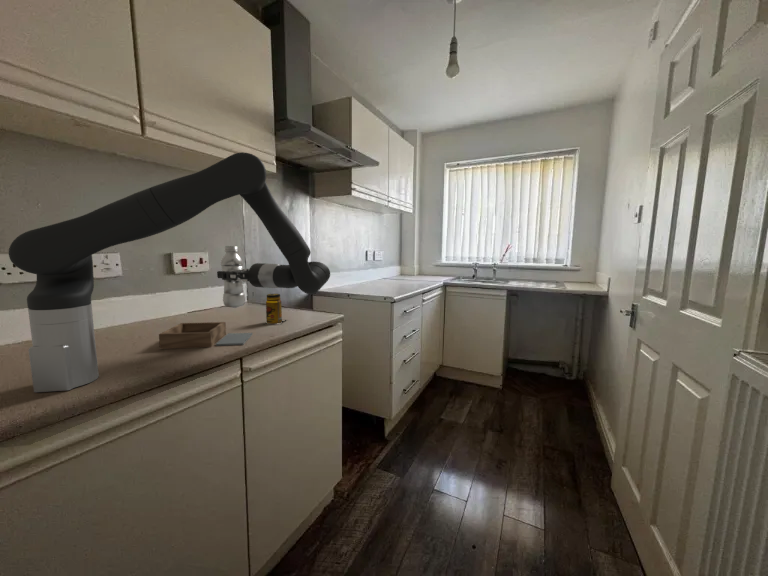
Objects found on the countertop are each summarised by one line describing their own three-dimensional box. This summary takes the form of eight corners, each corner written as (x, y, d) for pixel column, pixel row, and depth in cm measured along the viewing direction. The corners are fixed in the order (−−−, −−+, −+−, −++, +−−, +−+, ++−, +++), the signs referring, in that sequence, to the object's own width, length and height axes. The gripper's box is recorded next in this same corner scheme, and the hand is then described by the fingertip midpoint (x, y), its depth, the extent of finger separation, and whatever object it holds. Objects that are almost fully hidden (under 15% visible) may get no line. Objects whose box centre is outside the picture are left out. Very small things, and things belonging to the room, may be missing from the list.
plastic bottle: (250, 306, 99) (247, 246, 97) (231, 309, 93) (228, 245, 91) (237, 305, 102) (234, 246, 100) (218, 308, 96) (215, 246, 94)
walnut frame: (211, 346, 91) (210, 332, 90) (159, 348, 88) (158, 334, 88) (226, 334, 104) (225, 322, 104) (182, 335, 102) (181, 323, 101)
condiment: (262, 324, 120) (261, 295, 118) (271, 319, 128) (270, 292, 127) (280, 325, 119) (279, 295, 118) (287, 320, 128) (287, 292, 126)
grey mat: (243, 344, 94) (243, 342, 94) (215, 345, 92) (215, 343, 92) (252, 334, 105) (252, 332, 105) (228, 335, 104) (228, 333, 104)
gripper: (283, 262, 97) (243, 261, 103) (249, 264, 84) (206, 263, 90) (283, 285, 98) (244, 283, 104) (251, 290, 85) (208, 287, 91)
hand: (227, 273), depth 97 cm, fingers closed on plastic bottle, 6 cm apart
